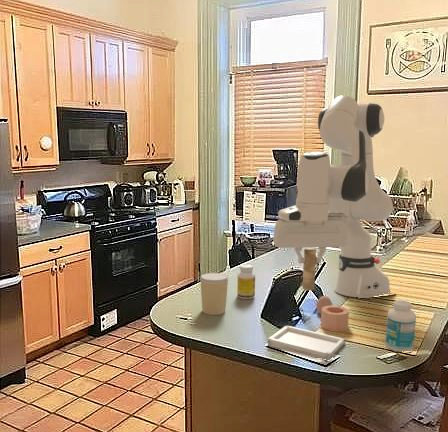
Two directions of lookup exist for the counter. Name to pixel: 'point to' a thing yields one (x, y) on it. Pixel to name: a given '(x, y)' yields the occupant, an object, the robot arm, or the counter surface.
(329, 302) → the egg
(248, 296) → the pill bottle
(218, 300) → the coffee cup
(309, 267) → the dowel
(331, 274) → the counter surface
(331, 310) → the cup
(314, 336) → the tray
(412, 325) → the pill bottle
